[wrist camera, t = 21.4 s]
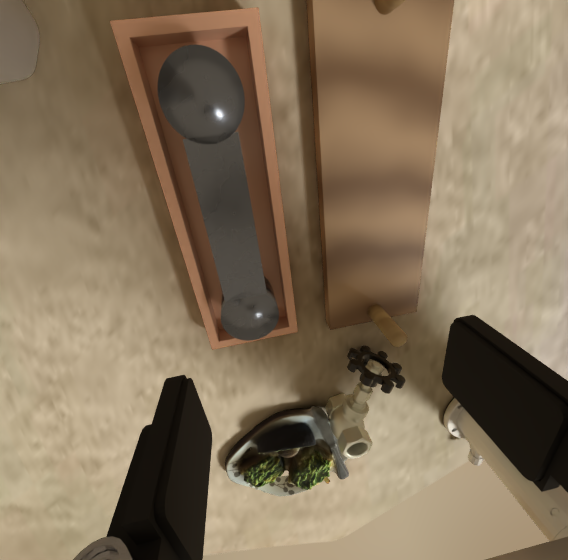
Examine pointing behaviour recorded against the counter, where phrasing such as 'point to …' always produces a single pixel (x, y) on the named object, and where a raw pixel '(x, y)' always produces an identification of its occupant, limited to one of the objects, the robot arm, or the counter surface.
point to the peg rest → (375, 149)
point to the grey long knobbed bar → (220, 180)
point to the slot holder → (174, 163)
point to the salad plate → (287, 453)
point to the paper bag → (17, 41)
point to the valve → (360, 400)
